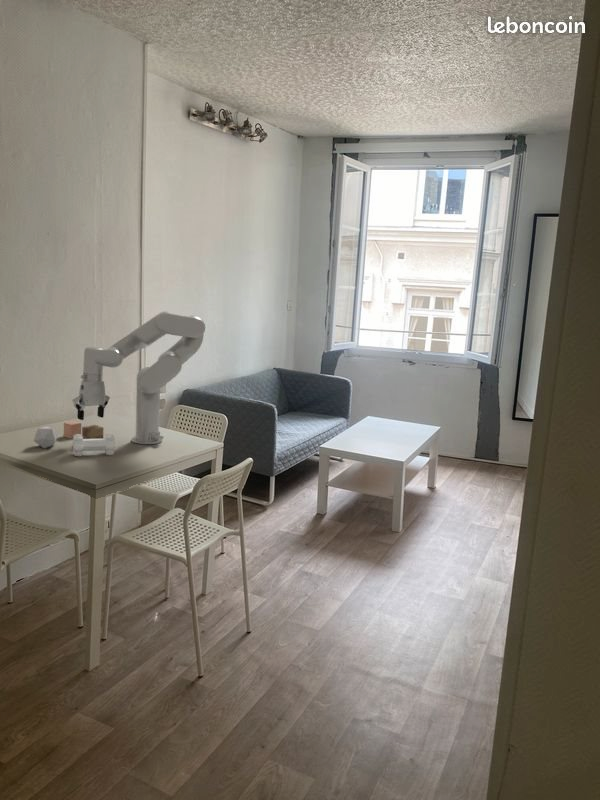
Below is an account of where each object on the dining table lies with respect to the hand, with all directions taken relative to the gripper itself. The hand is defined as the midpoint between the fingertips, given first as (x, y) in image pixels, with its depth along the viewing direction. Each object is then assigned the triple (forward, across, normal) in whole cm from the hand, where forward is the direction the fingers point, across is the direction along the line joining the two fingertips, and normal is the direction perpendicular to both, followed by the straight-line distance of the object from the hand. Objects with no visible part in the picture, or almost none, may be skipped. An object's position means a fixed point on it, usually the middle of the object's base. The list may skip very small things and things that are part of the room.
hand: (90, 418), depth 259 cm
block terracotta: (+10, -1, +10) cm, 14 cm away
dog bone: (+10, -11, -18) cm, 23 cm away
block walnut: (+10, +1, -1) cm, 10 cm away
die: (+10, -18, +3) cm, 21 cm away
